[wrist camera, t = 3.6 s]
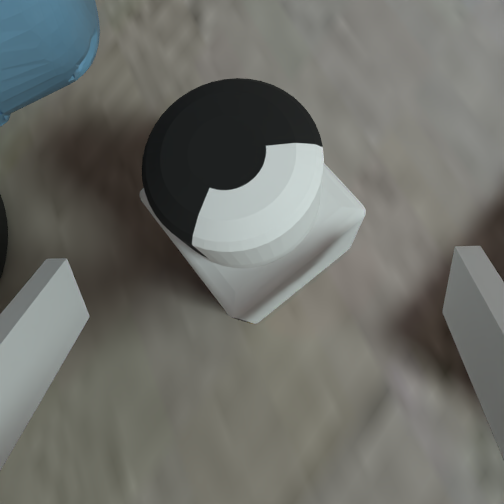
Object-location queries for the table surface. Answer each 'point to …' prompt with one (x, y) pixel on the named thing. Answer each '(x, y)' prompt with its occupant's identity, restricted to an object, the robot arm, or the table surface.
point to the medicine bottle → (247, 193)
